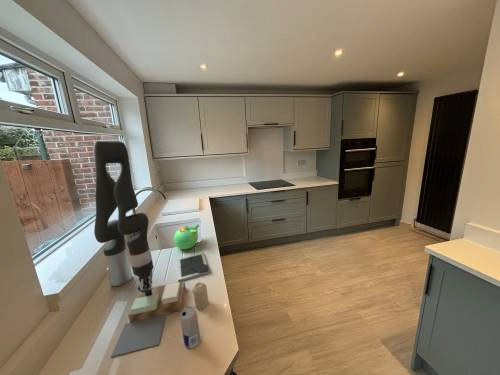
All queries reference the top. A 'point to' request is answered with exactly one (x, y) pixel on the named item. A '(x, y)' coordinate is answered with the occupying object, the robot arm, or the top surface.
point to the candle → (200, 296)
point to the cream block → (171, 293)
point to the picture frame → (192, 267)
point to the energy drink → (190, 327)
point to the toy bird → (186, 237)
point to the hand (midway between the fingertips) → (149, 296)
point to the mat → (140, 335)
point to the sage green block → (145, 304)
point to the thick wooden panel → (160, 304)
